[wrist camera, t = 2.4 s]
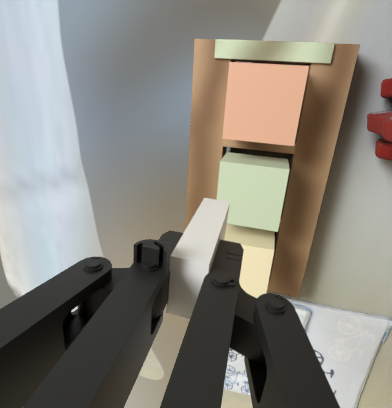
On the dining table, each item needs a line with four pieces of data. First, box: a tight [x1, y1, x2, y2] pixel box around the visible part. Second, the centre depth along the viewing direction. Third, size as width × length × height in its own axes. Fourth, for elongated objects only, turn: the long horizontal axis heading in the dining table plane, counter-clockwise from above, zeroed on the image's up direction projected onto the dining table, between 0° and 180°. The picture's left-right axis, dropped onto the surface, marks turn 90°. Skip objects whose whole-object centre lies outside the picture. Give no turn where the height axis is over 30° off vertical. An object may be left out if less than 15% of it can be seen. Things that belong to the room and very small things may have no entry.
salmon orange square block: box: [222, 62, 309, 146], centre depth 26 cm, size 6×6×4 cm
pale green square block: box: [217, 152, 290, 232], centre depth 29 cm, size 6×6×4 cm
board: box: [185, 39, 360, 297], centre depth 32 cm, size 14×26×3 cm, turn 176°
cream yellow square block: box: [224, 224, 275, 298], centre depth 32 cm, size 6×6×4 cm
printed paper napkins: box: [223, 293, 392, 408], centre depth 41 cm, size 19×20×2 cm
